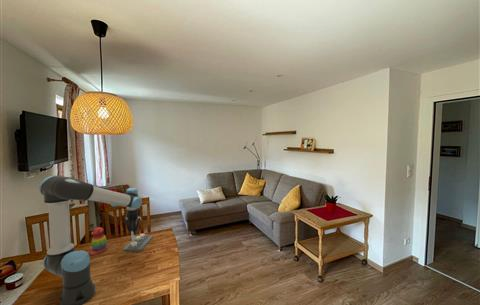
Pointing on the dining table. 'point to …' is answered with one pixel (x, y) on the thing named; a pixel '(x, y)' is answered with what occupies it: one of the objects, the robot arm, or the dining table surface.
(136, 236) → the button two
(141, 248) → the board
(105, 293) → the dining table surface
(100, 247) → the stacking bear
